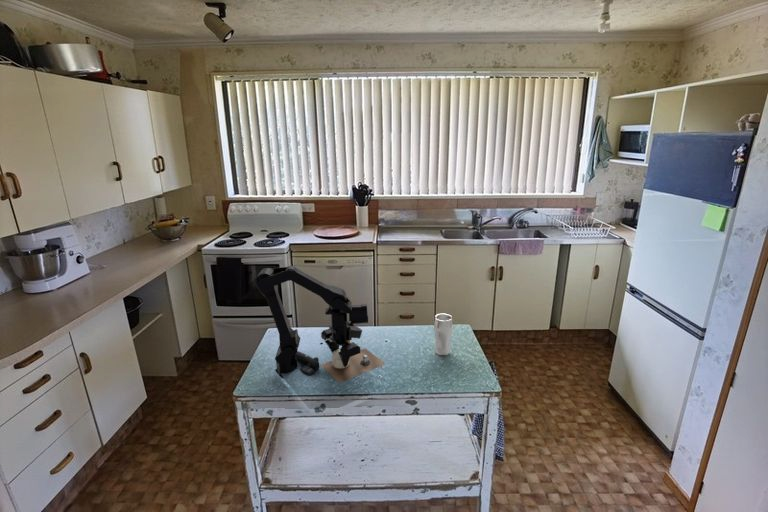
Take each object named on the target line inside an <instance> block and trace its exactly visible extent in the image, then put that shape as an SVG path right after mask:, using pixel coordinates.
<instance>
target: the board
mask: <svg viewBox="0 0 768 512" xmlns="http://www.w3.org/2000/svg"><path fill="white" fill-rule="evenodd" d="M363 355H368V360H369V361H370V364H369V365H367V366H363V365H361V364H360V362H361V361H362V356H363ZM386 364H387V363H386V362H385V361H383V360H382V359H381V358H379V357H378V356H377V355H375V354H374V353H372V352H371V351H370V350H368V349H367V348H363V349H361V352H360V353H359V354H357V355H354V356H351V357H350V364H349V366H348V367H345V368H335V367H334V366H333V365H332V360H330V361H327V362H325V363H321V364H320V367H322V368H323V370H325V371H326V372H327V373H328V374H329V375H330V376H331V377H332V378H333V380H335V381H336V382H337V383H338V384H341V383H343V382H346V381H348V380H350V379H353V378H355V377H357V376H360V375H362V374H365V373H368V372H370V371H372V370H374V369H377V368H379V367H383V366H384V365H386Z"/></svg>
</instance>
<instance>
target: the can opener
mask: <svg viewBox="0 0 768 512" xmlns="http://www.w3.org/2000/svg"><path fill="white" fill-rule="evenodd" d="M295 357H296V358H297V363H300V364H301V365H302V366H301V368H300V369H299V371H301V373H302V374H305V375H307V376H312V375H315V374H316V372H317V371H318V370H319V369H320V367H321V365H320V362H319V361H320V360H319V357H318V356H315V357H312V356H310V355H308V354H305V353H303V352H300V351H299V350H297V353H296V354H295Z"/></svg>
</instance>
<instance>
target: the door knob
mask: <svg viewBox="0 0 768 512" xmlns="http://www.w3.org/2000/svg"><path fill="white" fill-rule="evenodd" d="M360 364H361V365H363V366H367V365H369V364H370V361H369V360H368V355H363V356H362V361H361V362H360Z"/></svg>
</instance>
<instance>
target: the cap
mask: <svg viewBox="0 0 768 512" xmlns="http://www.w3.org/2000/svg"><path fill="white" fill-rule="evenodd" d="M340 349H341V348H339V349H337V350H335V351H333V353H332V352H331V354H332V356H331V361H332V365H333V366H334V367H335V368H345V367H344V365H343V363H342V361H341V358H340V356H339V353H338V352H340ZM349 364H350V359H349V362H348V364H347V366H346V367H348V366H349Z"/></svg>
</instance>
